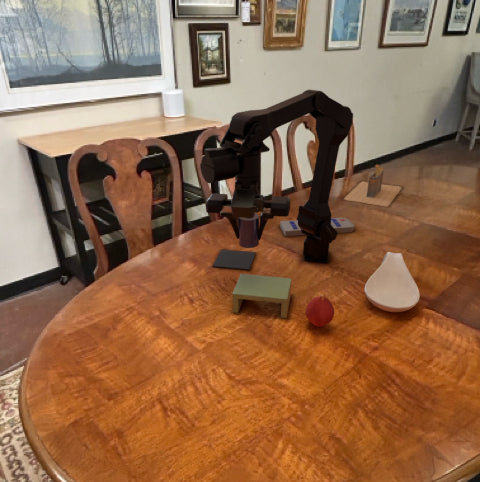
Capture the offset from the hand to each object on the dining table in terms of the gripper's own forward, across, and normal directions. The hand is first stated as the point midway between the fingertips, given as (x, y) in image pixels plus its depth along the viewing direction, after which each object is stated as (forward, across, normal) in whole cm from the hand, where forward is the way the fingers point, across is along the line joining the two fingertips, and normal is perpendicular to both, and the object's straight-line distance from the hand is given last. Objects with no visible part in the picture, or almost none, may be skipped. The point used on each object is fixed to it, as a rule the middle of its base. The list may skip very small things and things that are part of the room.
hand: (248, 238), depth 99 cm
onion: (+12, +18, -16) cm, 27 cm away
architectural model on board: (+13, +36, +74) cm, 83 cm away
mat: (+12, -6, +11) cm, 17 cm away
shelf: (+12, +5, -10) cm, 16 cm away
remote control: (+12, +16, +35) cm, 40 cm away
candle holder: (+1, 0, 0) cm, 1 cm away
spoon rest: (+12, +34, +1) cm, 36 cm away
